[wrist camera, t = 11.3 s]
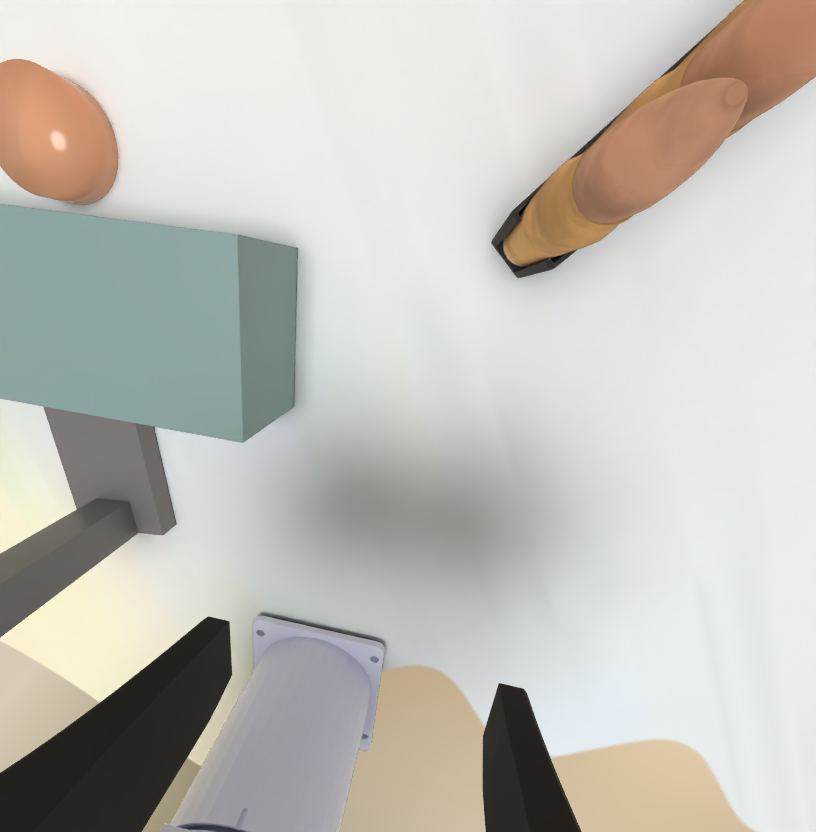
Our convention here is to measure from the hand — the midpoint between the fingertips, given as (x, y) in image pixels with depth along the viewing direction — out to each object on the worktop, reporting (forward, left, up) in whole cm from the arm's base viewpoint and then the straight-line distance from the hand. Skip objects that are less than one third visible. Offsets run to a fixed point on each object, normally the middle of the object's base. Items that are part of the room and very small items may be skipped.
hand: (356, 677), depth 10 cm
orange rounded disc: (+13, +16, -10) cm, 23 cm away
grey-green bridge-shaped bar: (+7, +16, -9) cm, 20 cm away
